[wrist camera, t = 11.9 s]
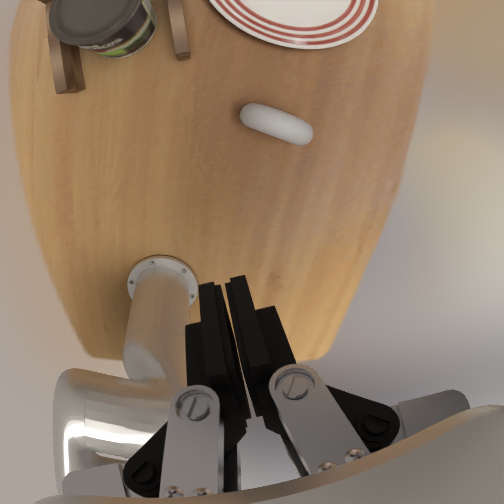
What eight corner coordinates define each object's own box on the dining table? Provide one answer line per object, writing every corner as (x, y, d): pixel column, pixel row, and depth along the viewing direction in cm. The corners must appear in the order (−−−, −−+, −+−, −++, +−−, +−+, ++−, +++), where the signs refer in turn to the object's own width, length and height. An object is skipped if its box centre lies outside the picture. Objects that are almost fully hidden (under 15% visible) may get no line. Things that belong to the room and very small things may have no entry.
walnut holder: (190, 58, 34) (188, 46, 25) (76, 92, 32) (42, 95, 23) (176, -30, 26) (172, -62, 17) (64, 5, 24) (33, -12, 15)
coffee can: (148, 61, 33) (127, 45, 21) (82, 58, 30) (37, 48, 18) (166, -2, 28) (156, -40, 16) (100, -4, 25) (65, -35, 13)
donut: (302, 122, 41) (329, 130, 33) (293, 142, 43) (319, 156, 34) (239, 98, 38) (252, 99, 30) (231, 120, 40) (241, 127, 31)
